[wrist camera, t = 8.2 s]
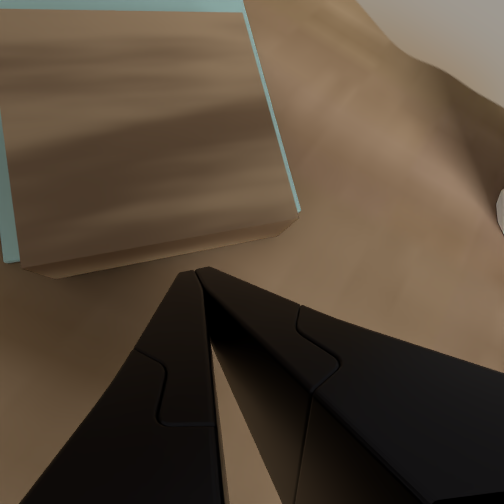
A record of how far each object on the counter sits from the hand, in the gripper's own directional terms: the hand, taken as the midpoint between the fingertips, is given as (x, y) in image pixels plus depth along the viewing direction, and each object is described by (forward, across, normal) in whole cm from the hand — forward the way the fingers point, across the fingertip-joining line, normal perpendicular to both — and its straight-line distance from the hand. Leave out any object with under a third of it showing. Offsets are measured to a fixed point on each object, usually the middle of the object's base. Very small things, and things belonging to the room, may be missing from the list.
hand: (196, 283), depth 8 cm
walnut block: (+7, 0, -3) cm, 8 cm away
